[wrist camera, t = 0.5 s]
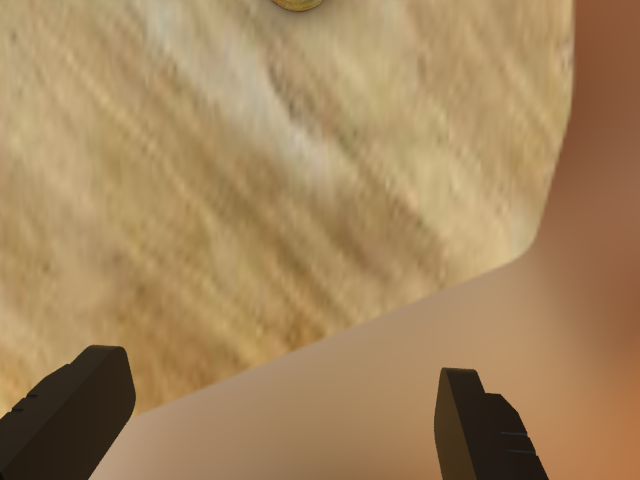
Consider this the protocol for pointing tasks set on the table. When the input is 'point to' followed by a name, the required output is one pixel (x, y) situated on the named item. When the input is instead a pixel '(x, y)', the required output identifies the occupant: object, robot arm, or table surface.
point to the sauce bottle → (297, 4)
